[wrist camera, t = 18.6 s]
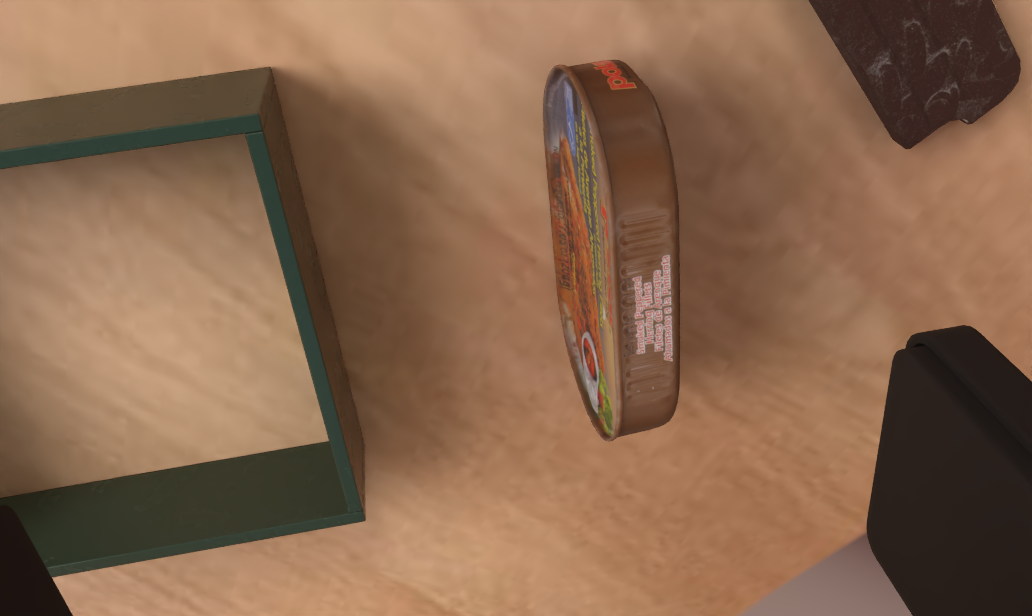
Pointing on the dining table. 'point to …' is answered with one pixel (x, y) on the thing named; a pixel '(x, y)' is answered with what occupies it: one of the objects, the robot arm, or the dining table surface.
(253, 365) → the dining table surface
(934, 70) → the ice cream bar
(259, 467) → the box
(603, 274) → the tin
